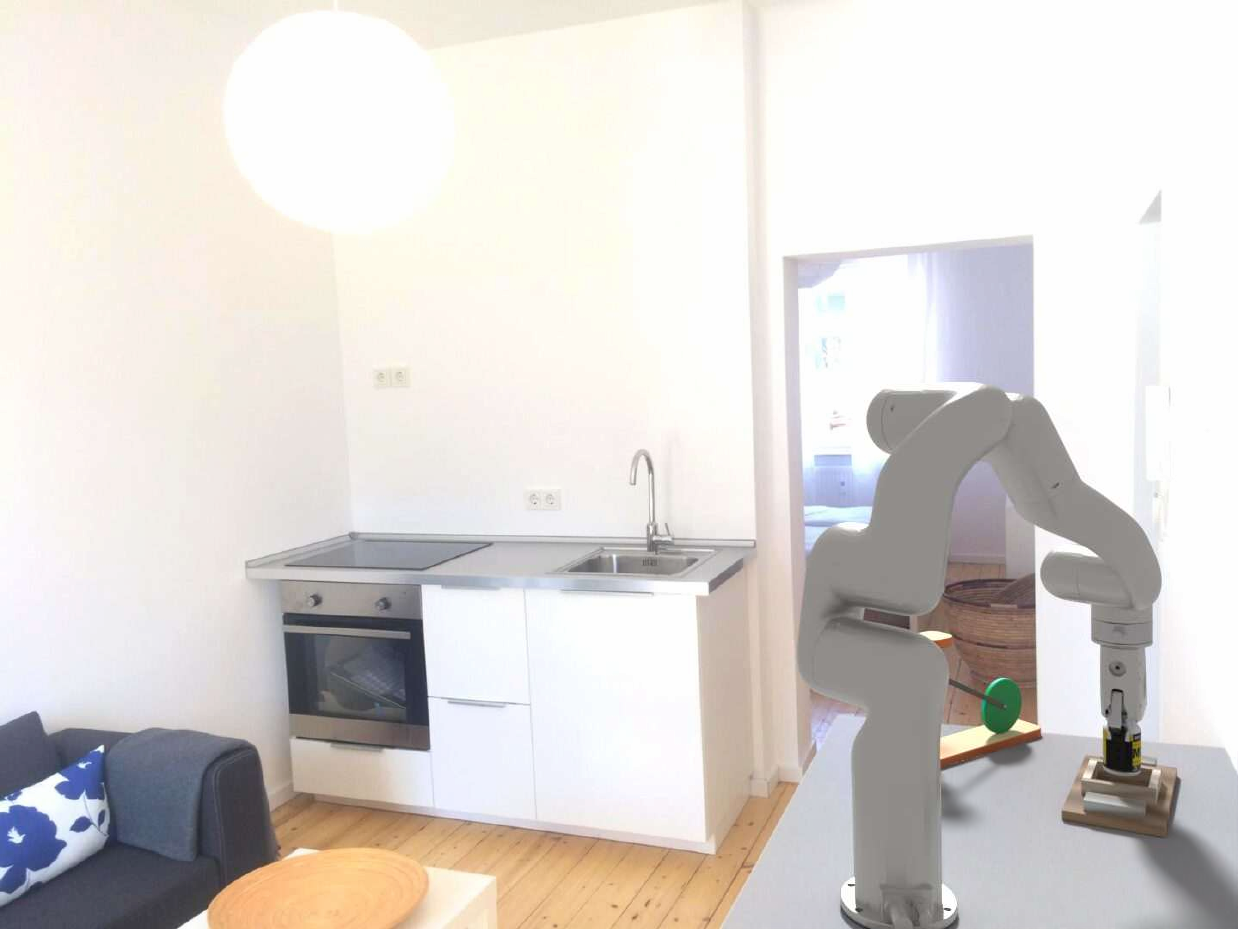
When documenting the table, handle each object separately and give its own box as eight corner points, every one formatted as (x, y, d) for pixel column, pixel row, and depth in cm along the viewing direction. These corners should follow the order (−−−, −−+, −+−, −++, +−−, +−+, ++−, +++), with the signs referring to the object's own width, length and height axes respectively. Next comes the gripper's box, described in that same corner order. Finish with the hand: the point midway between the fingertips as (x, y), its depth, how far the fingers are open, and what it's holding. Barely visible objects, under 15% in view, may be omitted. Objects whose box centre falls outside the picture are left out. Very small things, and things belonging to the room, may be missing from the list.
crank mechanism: (933, 770, 154) (931, 643, 152) (901, 757, 159) (898, 635, 158) (1045, 735, 166) (1044, 618, 164) (1011, 724, 172) (1010, 610, 170)
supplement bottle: (1139, 780, 138) (1139, 718, 137) (1100, 774, 141) (1100, 713, 140) (1142, 767, 142) (1142, 707, 141) (1105, 762, 145) (1105, 703, 144)
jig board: (1164, 837, 129) (1164, 812, 129) (1061, 819, 136) (1061, 795, 135) (1177, 776, 148) (1177, 754, 148) (1085, 762, 154) (1085, 741, 154)
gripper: (1146, 649, 131) (1146, 789, 132) (1158, 619, 145) (1157, 746, 146) (1082, 643, 134) (1082, 779, 136) (1099, 615, 149) (1099, 738, 150)
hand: (1121, 760), depth 141 cm, fingers closed on supplement bottle, 4 cm apart
